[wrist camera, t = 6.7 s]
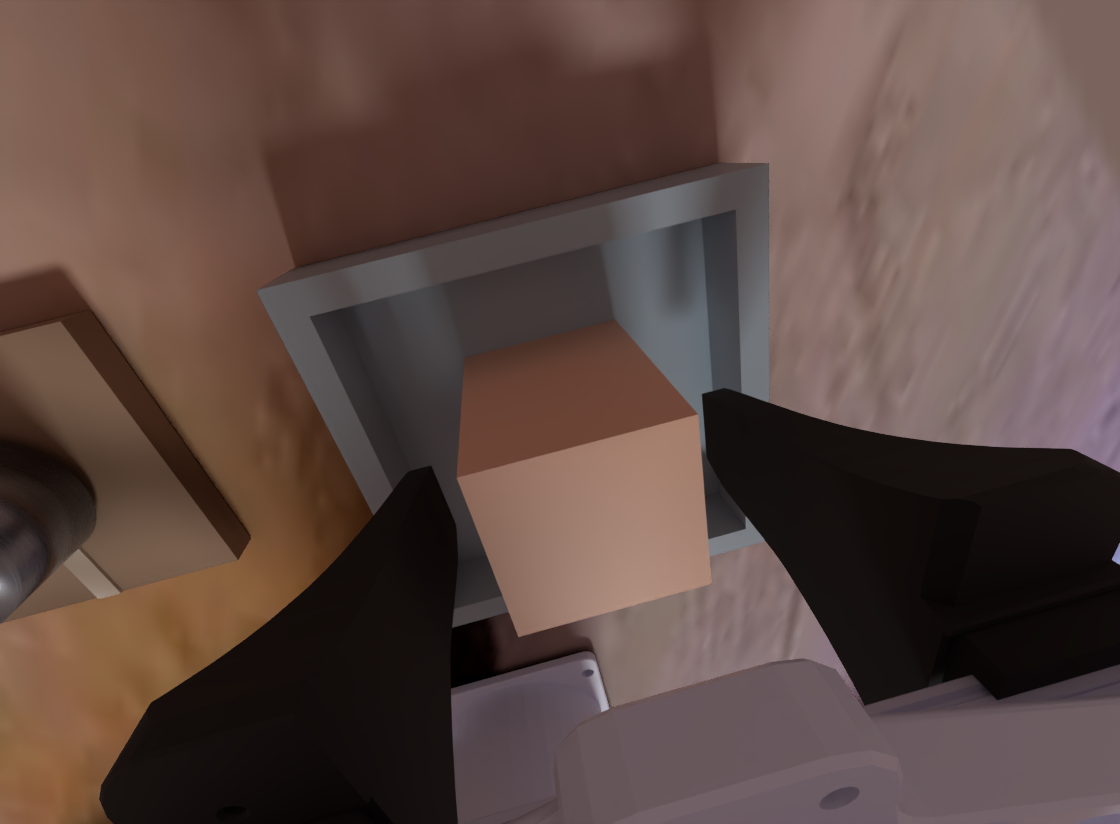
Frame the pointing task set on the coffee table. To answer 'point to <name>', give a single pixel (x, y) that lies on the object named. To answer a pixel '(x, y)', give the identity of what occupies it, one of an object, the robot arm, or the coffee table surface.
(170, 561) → the crank base
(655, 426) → the block
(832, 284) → the coffee table surface
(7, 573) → the crank
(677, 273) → the tray
